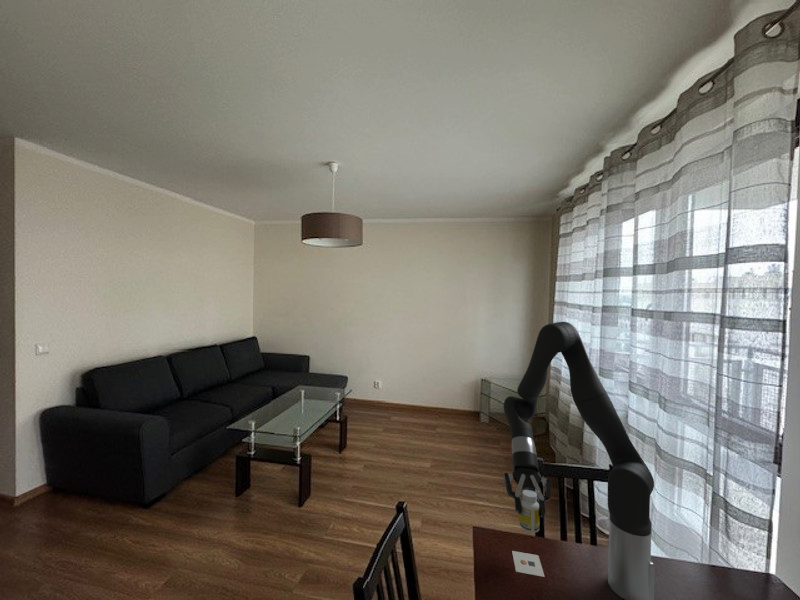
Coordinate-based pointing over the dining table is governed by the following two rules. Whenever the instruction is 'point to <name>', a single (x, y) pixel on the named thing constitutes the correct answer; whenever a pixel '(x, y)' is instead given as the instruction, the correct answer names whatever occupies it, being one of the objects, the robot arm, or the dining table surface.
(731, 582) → the dining table surface
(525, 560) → the tile
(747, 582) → the dining table surface
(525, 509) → the supplement bottle
